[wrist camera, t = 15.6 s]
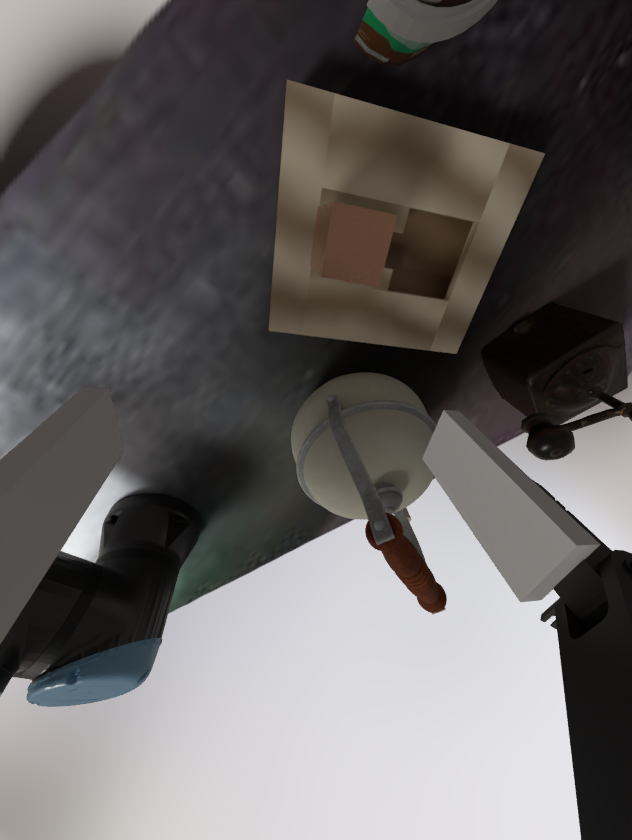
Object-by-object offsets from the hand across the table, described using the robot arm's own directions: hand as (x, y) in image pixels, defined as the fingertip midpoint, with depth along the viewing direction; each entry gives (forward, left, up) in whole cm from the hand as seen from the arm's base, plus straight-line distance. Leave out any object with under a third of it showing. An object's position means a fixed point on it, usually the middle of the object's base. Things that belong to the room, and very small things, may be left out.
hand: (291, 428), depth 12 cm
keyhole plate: (+6, -10, -26) cm, 29 cm away
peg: (+6, -4, -25) cm, 26 cm away
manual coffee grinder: (-5, -33, -26) cm, 42 cm away
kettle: (-17, -13, -26) cm, 34 cm away
